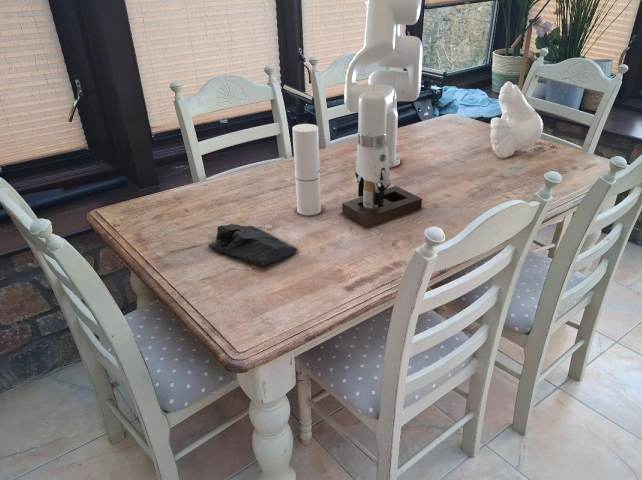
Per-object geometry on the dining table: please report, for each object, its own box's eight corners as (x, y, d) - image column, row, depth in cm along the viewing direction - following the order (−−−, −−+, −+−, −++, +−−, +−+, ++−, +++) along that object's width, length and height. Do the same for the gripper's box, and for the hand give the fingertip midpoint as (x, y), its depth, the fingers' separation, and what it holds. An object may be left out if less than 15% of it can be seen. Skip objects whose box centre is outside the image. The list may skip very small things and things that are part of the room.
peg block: (342, 213, 161) (342, 203, 159) (395, 196, 171) (395, 185, 169) (367, 228, 153) (367, 217, 151) (421, 209, 163) (422, 198, 161)
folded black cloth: (259, 275, 132) (257, 259, 129) (204, 247, 144) (201, 231, 141) (303, 252, 142) (302, 236, 139) (248, 226, 154) (246, 211, 151)
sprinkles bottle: (381, 216, 159) (382, 173, 152) (368, 220, 157) (369, 176, 149) (372, 210, 162) (373, 168, 155) (359, 214, 160) (360, 171, 153)
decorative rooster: (521, 121, 214) (495, 73, 198) (555, 123, 201) (530, 73, 186) (486, 170, 211) (457, 125, 196) (518, 175, 199) (489, 128, 183)
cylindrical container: (324, 207, 164) (322, 125, 150) (315, 216, 159) (312, 133, 145) (303, 203, 166) (298, 122, 152) (293, 213, 161) (288, 130, 147)
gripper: (403, 145, 143) (400, 206, 153) (363, 129, 154) (362, 187, 164) (381, 151, 139) (379, 213, 149) (342, 134, 151) (342, 193, 161)
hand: (370, 199), depth 157 cm, fingers open, 6 cm apart
